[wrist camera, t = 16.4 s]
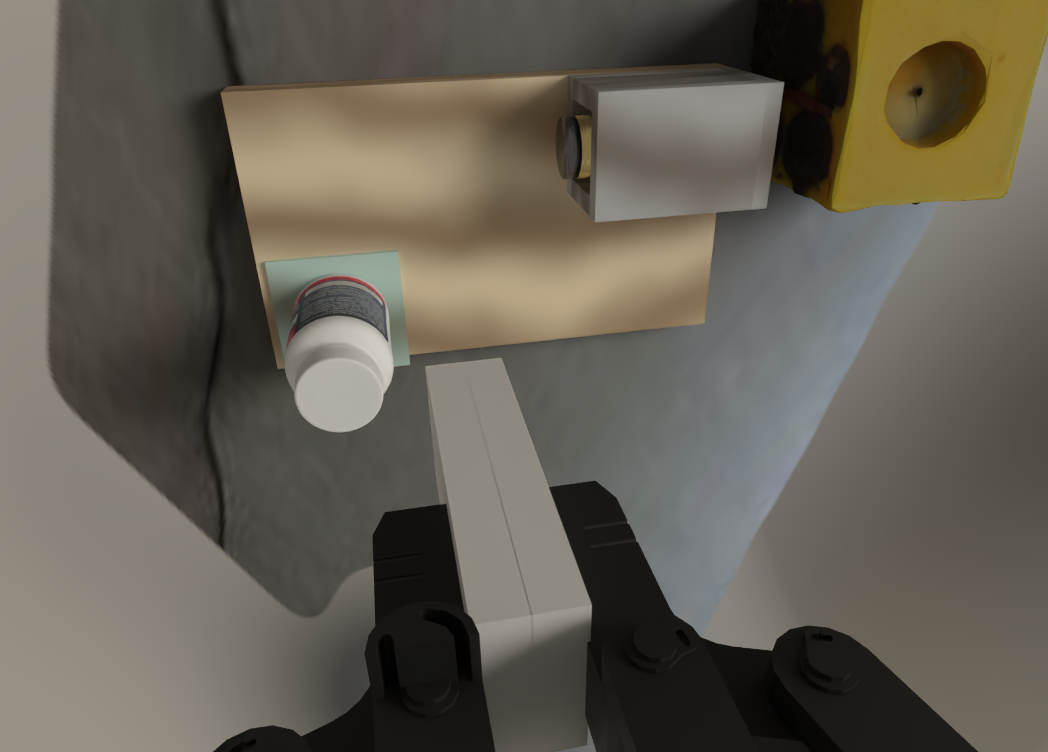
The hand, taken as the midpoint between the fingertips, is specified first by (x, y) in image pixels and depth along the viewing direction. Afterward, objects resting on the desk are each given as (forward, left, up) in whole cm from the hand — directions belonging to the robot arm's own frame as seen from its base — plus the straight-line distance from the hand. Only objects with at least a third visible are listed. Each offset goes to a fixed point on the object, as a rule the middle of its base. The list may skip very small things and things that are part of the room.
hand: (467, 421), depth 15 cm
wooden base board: (+5, +5, -29) cm, 30 cm away
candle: (-2, +25, -29) cm, 38 cm away
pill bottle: (+9, -4, -27) cm, 29 cm away
